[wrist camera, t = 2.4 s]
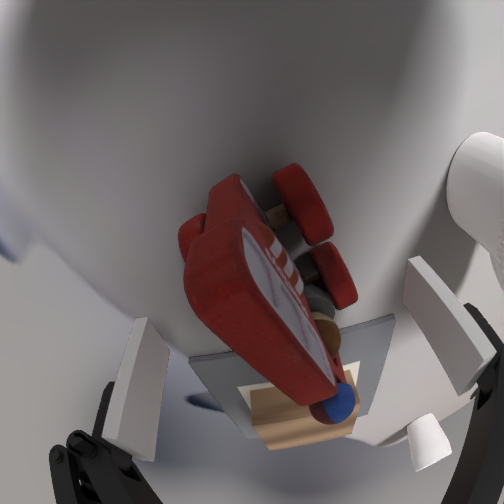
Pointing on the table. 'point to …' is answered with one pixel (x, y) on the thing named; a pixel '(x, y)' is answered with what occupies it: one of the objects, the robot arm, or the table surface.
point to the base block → (294, 419)
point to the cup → (427, 441)
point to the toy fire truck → (272, 289)
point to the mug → (480, 194)
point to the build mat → (246, 378)
